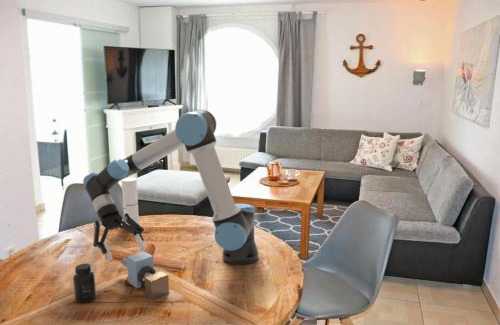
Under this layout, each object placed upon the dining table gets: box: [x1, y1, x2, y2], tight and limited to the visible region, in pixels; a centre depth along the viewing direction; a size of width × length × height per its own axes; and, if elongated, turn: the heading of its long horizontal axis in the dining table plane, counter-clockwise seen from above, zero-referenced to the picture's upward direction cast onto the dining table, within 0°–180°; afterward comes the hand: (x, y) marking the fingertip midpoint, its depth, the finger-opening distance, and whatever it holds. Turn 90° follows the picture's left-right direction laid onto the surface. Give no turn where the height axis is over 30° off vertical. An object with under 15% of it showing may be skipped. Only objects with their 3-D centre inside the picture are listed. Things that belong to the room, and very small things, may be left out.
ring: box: [138, 266, 156, 286], centre depth 150 cm, size 2×6×6 cm, turn 135°
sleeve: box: [126, 251, 155, 289], centre depth 153 cm, size 6×7×10 cm
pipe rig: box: [120, 258, 170, 301], centre depth 153 cm, size 25×7×7 cm, turn 45°
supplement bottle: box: [72, 263, 97, 304], centre depth 143 cm, size 7×7×12 cm
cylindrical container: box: [121, 177, 140, 225], centre depth 211 cm, size 7×7×25 cm
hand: (127, 255), depth 158 cm, fingers open, 13 cm apart
